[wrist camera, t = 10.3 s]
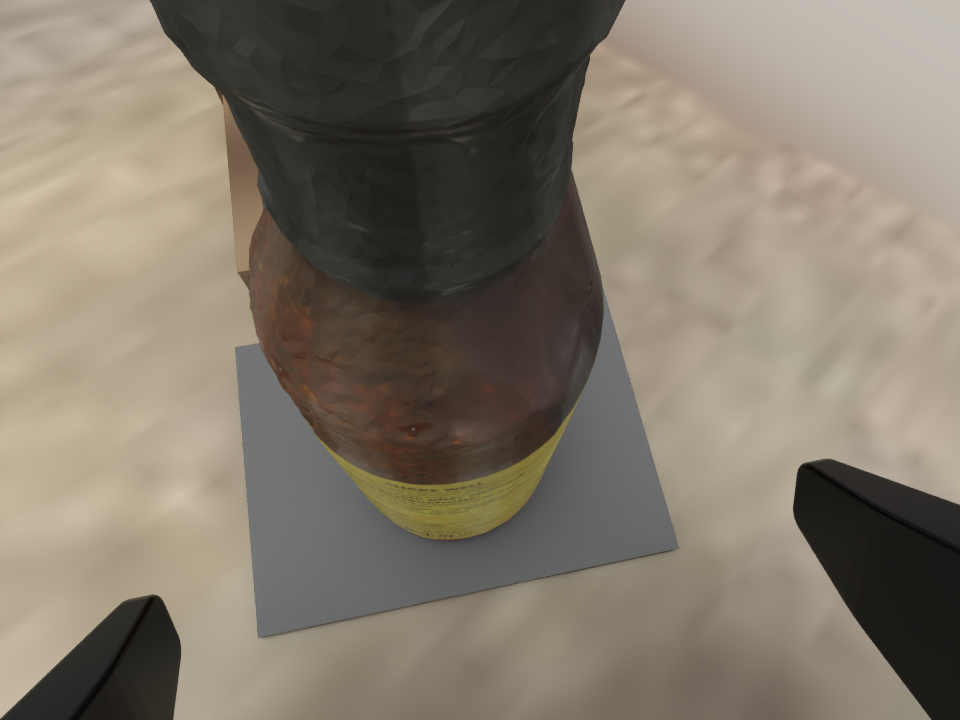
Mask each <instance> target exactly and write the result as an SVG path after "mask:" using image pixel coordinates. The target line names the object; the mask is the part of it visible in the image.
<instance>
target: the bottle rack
mask: <svg viewBox="0 0 960 720" xmlns="http://www.w3.org/2000/svg"><path fill="white" fill-rule="evenodd" d="M215 89H216V91H217V93H218V95H219V98H220V100H221V102H222V104H223V107H224V119H225V131H226V142H227V154H228V166H229V178H230V190H231V202H232V213H233V225H234V237H235V249H236V261H237V272H238V274H239V275H240V277H241V278H242V280H243V281H244V283H245V284H246V286H247V287H248V289H249V275H248V274H249V272H250V270H249V247H250V244H251V238H252V234H253V232H254V230H255V227H256V225H257V223H258V221H259V219H260V217H261V215H262V212H263V209H264V207H265V206H264V203H263V200H262V197H261V195H260V192H259V189H258V186H257V179H258V168H257V166H256V164H255V162H254V160H253V158H252V156H251V153H250V151H249V148H248V146H247V144H246V142H245V140H244V139H243V137H242V135H241V133H240V131H239V129H238V127H237V125H236V122H235V120H234V118H233V115H232V113H231V111H230V108H229V106H228V103H227V101H226V99H225V98H224V96H223V94H222V93H221V92H220V91H219V90H218V89H217V88H215ZM249 290H250V289H249Z"/></svg>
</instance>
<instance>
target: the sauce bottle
mask: <svg viewBox="0 0 960 720" xmlns="http://www.w3.org/2000/svg"><path fill="white" fill-rule="evenodd" d="M150 2H151V3H152V5H153V8H154V10H155V12H156V14H157V17H158V19H159V21H160V23H161V26H162V28H163V30H164V33H165V34H166V35H167V36H168V37H169V38H170V39H171V40H172V41H173V42H174V44H175V45H176V46H177V47H178V48H179V49H180V50H181V51H182V53H183V54H184V56H185V57H186V58H187V60H188V61H189V63H190V64H191V66H192V67H193V68H194V69H195V70H196V71H197V72H198V73H199V74H200V75H201V76H203V77H204V78H205V79H206V80H207V81H208V82H209V83H211V84H212V85H213V86H214V87H215V88H217V89H218V90H219V91H220V92H221V93H222V94H223V96H224V98H225V99H226V101H227V103H228V106H229V108H230V111H231V113H232V115H233V118H234V120H235V122H236V125H237V127H238V129H239V131H240V133H241V135H242V137H243V139H244V140H245V142H246V144H247V146H248V148H249V151H250V153H251V156H252V158H253V160H254V162H255V164H256V166H257V168H258V179H257V186H258V189H259V192H260V195H261V197H262V200H263V203H264V206H265V207H264V209H263V212H262V215H261V217H260V219H259V221H258V223H257V225H256V227H255V230H254V232H253V234H252V238H251V244H250V247H249V270H250V272H249V274H248V275H249V289H250V291H249V295H250V309H251V311H252V313H253V318H254V324H255V329H256V334H257V336H258V338H259V342H260V347H261V349H262V351H263V353H264V355H265V357H266V360H267V362H268V363H269V365H270V366H271V368H272V369H273V371H274V372H275V374H276V376H277V379H278V381H279V383H280V385H281V387H282V388H283V390H284V391H285V392H286V393H288V394H289V396H290V397H291V399H292V400H293V402H294V404H295V405H296V406H297V407H298V409H299V411H300V413H301V415H302V416H303V418H304V419H305V420H306V422H307V423H308V424H309V426H310V427H311V428H312V429H313V431H314V434H315V436H316V437H317V438H318V439H319V441H320V442H321V443H322V444H323V445H324V447H325V448H326V449H327V450H328V451H329V453H330V454H331V455H332V456H333V457H334V458H335V460H336V461H337V462H338V463H339V464H340V466H341V467H342V468H343V469H344V470H345V471H346V473H347V474H348V475H349V476H350V478H351V479H352V480H353V481H354V482H355V483H356V485H357V486H358V487H359V488H360V490H361V491H362V492H363V493H364V494H365V495H366V497H367V498H368V499H369V500H370V501H371V502H372V503H373V504H374V505H375V507H376V508H377V509H378V510H379V511H380V512H381V513H382V514H383V515H385V516H386V517H387V518H388V519H389V520H391V521H392V522H393V523H395V524H396V525H398V526H400V527H402V528H403V529H405V530H407V531H409V532H411V533H414V534H416V535H419V536H421V537H425V538H431V539H436V540H440V541H445V540H450V541H456V540H459V539H462V538H468V537H472V536H476V535H479V534H483V533H486V532H488V531H490V530H492V529H494V528H495V527H497V526H499V525H501V524H502V523H504V522H506V521H507V520H509V519H510V518H511V517H512V516H514V515H515V514H516V513H517V512H518V511H519V510H520V509H521V508H522V507H523V506H524V505H525V503H526V502H527V501H528V499H529V498H530V497H531V495H532V494H533V492H534V490H535V489H536V487H537V485H538V483H539V481H540V479H541V477H542V475H543V473H544V471H545V469H546V467H547V465H548V462H549V460H550V458H551V456H552V454H553V452H554V450H555V448H556V446H557V444H558V442H559V440H560V438H561V436H562V434H563V432H564V430H565V428H566V426H567V424H568V422H569V420H570V418H571V416H572V414H573V411H574V409H575V407H576V405H577V403H578V401H579V398H580V396H581V394H582V392H583V390H584V388H585V385H586V383H587V381H588V378H589V376H590V373H591V371H592V368H593V366H594V363H595V359H596V355H597V352H598V348H599V344H600V340H601V333H602V325H603V316H604V303H603V287H602V281H601V275H600V271H599V267H598V264H597V260H596V256H595V252H594V249H593V245H592V241H591V238H590V234H589V231H588V227H587V223H586V220H585V216H584V213H583V209H582V205H581V202H580V198H579V195H578V191H577V187H576V184H575V180H574V177H573V173H572V170H571V165H572V151H573V142H572V137H573V131H574V127H575V123H576V117H577V112H578V107H579V102H580V98H581V93H582V89H583V86H584V83H585V74H586V71H587V68H588V64H589V61H590V54H591V53H592V52H593V50H594V49H595V48H596V46H597V45H598V44H599V43H600V42H601V41H602V40H604V39H605V38H606V37H607V36H608V34H609V31H610V30H611V28H612V26H613V24H614V22H615V20H616V18H617V16H618V14H619V12H620V10H621V8H622V6H623V4H624V2H625V0H150Z"/></svg>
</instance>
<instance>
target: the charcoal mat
mask: <svg viewBox="0 0 960 720" xmlns="http://www.w3.org/2000/svg"><path fill="white" fill-rule="evenodd" d="M603 303H604V316H603V325H602V333H601V340H600V344H599V348H598V352H597V355H596V359H595V363H594V366H593V368H592V371H591V373H590V376H589V378H588V381H587V383H586V385H585V388H584V390H583V392H582V394H581V396H580V398H579V401H578V403H577V405H576V407H575V409H574V411H573V414H572V416H571V418H570V420H569V422H568V424H567V426H566V428H565V430H564V432H563V434H562V436H561V438H560V440H559V442H558V444H557V446H556V448H555V450H554V452H553V454H552V456H551V458H550V460H549V462H548V465H547V467H546V469H545V471H544V473H543V475H542V477H541V479H540V481H539V483H538V485H537V487H536V489H535V490H534V492H533V494H532V495H531V497H530V498H529V499H528V501H527V502H526V503H525V505H524V506H523V507H522V508H521V509H520V510H519V511H518V512H517V513H516V514H515V515H514V516H512V517H511V518H510V519H509V520H507V521H506V522H504V523H502V524H501V525H499V526H497V527H495V528H494V529H492V530H490V531H488V532H486V533H483V534H479V535H476V536H472V537H468V538H462V539H459V540H456V541H450V540H445V541H440V540H436V539H431V538H425V537H421V536H419V535H416V534H414V533H411V532H409V531H407V530H405V529H403V528H402V527H400V526H398V525H396V524H395V523H393V522H392V521H391V520H389V519H388V518H387V517H386V516H385V515H383V514H382V513H381V512H380V511H379V510H378V509H377V508H376V507H375V505H374V504H373V503H372V502H371V501H370V500H369V499H368V498H367V497H366V495H365V494H364V493H363V492H362V491H361V490H360V488H359V487H358V486H357V485H356V483H355V482H354V481H353V480H352V479H351V478H350V476H349V475H348V474H347V473H346V471H345V470H344V469H343V468H342V467H341V466H340V464H339V463H338V462H337V461H336V460H335V458H334V457H333V456H332V455H331V454H330V453H329V451H328V450H327V449H326V448H325V447H324V445H323V444H322V443H321V442H320V441H319V439H318V438H317V437H316V436H315V434H314V431H313V429H312V428H311V427H310V426H309V424H308V423H307V422H306V420H305V419H304V418H303V416H302V415H301V413H300V411H299V409H298V407H297V406H296V405H295V404H294V402H293V400H292V399H291V397H290V396H289V394H288V393H286V392H285V391H284V390H283V388H282V387H281V385H280V383H279V381H278V379H277V376H276V374H275V372H274V371H273V369H272V368H271V366H270V365H269V363H268V362H267V360H266V357H265V355H264V353H263V351H262V349H261V347H260V343H258V344H252V345H246V346H240V347H235V352H236V364H237V377H238V389H239V402H240V415H241V427H242V440H243V452H244V465H245V477H246V490H247V502H248V515H249V527H250V540H251V553H252V565H253V578H254V590H255V603H256V615H257V628H258V638H260V637H265V636H270V635H275V634H279V633H284V632H289V631H293V630H298V629H303V628H307V627H312V626H317V625H321V624H326V623H331V622H336V621H340V620H345V619H350V618H354V617H359V616H364V615H368V614H373V613H378V612H382V611H387V610H392V609H397V608H401V607H406V606H411V605H415V604H420V603H425V602H429V601H434V600H439V599H443V598H448V597H453V596H457V595H462V594H467V593H472V592H476V591H481V590H486V589H490V588H495V587H500V586H504V585H509V584H514V583H518V582H523V581H528V580H533V579H537V578H542V577H547V576H551V575H556V574H561V573H565V572H570V571H575V570H579V569H584V568H589V567H594V566H598V565H603V564H608V563H612V562H617V561H622V560H626V559H631V558H636V557H640V556H645V555H650V554H655V553H659V552H664V551H669V550H673V549H678V548H679V547H678V543H677V540H676V536H675V533H674V529H673V526H672V523H671V519H670V516H669V512H668V509H667V506H666V502H665V499H664V495H663V492H662V488H661V485H660V482H659V478H658V475H657V471H656V468H655V465H654V461H653V458H652V454H651V451H650V447H649V444H648V441H647V437H646V434H645V430H644V427H643V424H642V420H641V417H640V413H639V410H638V406H637V403H636V400H635V396H634V393H633V389H632V386H631V383H630V379H629V376H628V372H627V369H626V365H625V362H624V359H623V355H622V352H621V348H620V345H619V341H618V338H617V335H616V331H615V328H614V324H613V321H612V318H611V314H610V311H609V307H608V304H607V300H606V297H605V294H604V290H603Z"/></svg>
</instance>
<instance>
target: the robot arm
mask: <svg viewBox="0 0 960 720" xmlns="http://www.w3.org/2000/svg"><path fill="white" fill-rule="evenodd" d="M793 513H794V518H795V521H796V523H797V525H798V527H799V529H800V531H801V532H802V534H803V535H804V537H805V539H806V540H807V542H808V544H809V545H810V547H811V549H812V550H813V552H814V553H815V555H816V557H817V558H818V560H819V562H820V563H821V565H822V566H823V568H824V570H825V571H826V573H827V575H828V576H829V578H830V579H831V581H832V583H833V584H834V586H835V588H836V589H837V591H838V593H839V594H840V596H841V597H842V599H843V601H844V602H845V604H846V605H847V607H848V608H849V610H850V611H851V613H852V614H853V616H854V617H855V619H856V620H857V621H858V623H859V624H860V626H861V627H862V628H863V630H864V631H865V633H866V634H867V635H868V636H869V638H870V639H871V640H872V642H873V643H874V644H875V646H876V647H877V648H878V650H879V651H880V652H881V654H882V655H883V656H884V658H885V659H886V660H887V662H888V663H889V664H890V666H891V667H892V668H893V669H894V671H895V672H896V673H897V675H898V676H899V677H900V679H901V680H902V681H903V683H904V684H905V685H906V687H907V688H908V689H909V691H910V692H911V693H912V695H913V696H914V697H915V699H916V700H917V701H918V702H919V704H920V705H921V706H922V708H923V709H924V710H925V712H926V713H927V714H928V716H929V717H930V718H931V720H960V505H959V504H956V503H953V502H950V501H947V500H945V499H942V498H939V497H936V496H933V495H931V494H928V493H925V492H922V491H919V490H917V489H914V488H911V487H908V486H905V485H903V484H900V483H897V482H894V481H891V480H889V479H886V478H883V477H880V476H877V475H875V474H872V473H869V472H866V471H863V470H861V469H858V468H855V467H852V466H849V465H847V464H844V463H841V462H838V461H835V460H832V459H821V460H816V461H811V462H806V463H804V464H802V465H801V466H800V467H799V469H798V472H797V479H796V487H795V496H794V504H793ZM180 661H181V643H180V639H179V636H178V634H177V631H176V629H175V627H174V624H173V622H172V620H171V618H170V615H169V613H168V611H167V608H166V606H165V604H164V602H163V600H162V599H161V598H160V597H159V596H157V595H147V596H142V597H137V598H132V599H128V600H126V601H124V602H122V603H121V604H120V605H119V606H118V607H117V608H115V609H114V610H113V611H112V612H111V613H110V614H109V615H108V616H107V617H106V618H105V619H104V620H103V621H102V622H101V623H100V624H99V625H98V626H97V627H96V628H95V629H94V630H93V631H91V632H90V633H89V634H88V635H87V636H86V637H85V638H84V639H83V640H82V641H81V642H80V643H79V644H78V645H77V646H76V647H75V648H74V649H73V650H72V651H71V652H70V653H69V654H68V655H66V656H65V657H64V658H63V659H62V660H61V661H60V662H59V663H58V664H57V665H56V666H55V667H54V668H53V669H52V670H51V671H50V672H49V673H48V674H47V675H46V676H45V677H44V678H42V679H41V680H40V681H39V682H38V683H37V684H36V685H35V686H34V687H33V688H32V689H31V690H30V691H29V692H28V693H27V694H26V695H25V696H24V697H23V698H22V699H21V700H20V701H19V702H17V703H16V704H15V705H14V706H13V707H12V708H11V709H10V710H9V711H8V712H7V713H6V714H5V715H4V716H3V717H2V718H1V719H0V720H173V717H174V709H175V701H176V693H177V685H178V677H179V669H180Z"/></svg>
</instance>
